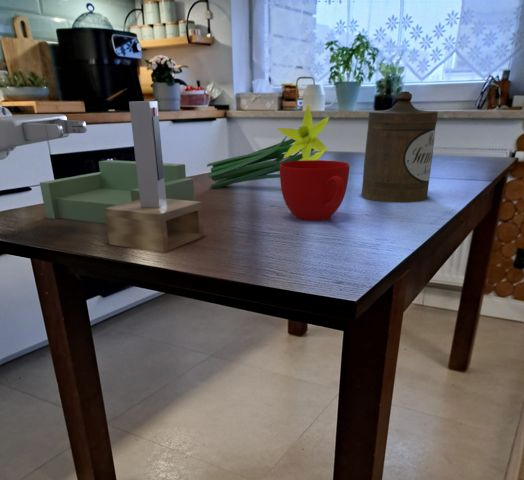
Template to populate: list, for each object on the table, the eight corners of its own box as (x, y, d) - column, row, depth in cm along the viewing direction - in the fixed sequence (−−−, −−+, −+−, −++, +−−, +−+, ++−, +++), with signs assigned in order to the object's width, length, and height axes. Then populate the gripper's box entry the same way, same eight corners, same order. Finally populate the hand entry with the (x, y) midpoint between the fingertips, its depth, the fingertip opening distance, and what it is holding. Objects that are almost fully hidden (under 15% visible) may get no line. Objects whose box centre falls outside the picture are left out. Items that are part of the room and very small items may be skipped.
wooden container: (422, 205, 111) (436, 90, 101) (354, 201, 116) (361, 91, 107) (431, 194, 123) (444, 91, 113) (369, 190, 128) (377, 92, 119)
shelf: (109, 246, 84) (103, 208, 81) (152, 231, 92) (148, 196, 90) (164, 253, 79) (160, 214, 76) (203, 237, 88) (201, 201, 85)
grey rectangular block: (140, 207, 81) (128, 101, 74) (148, 202, 85) (137, 101, 78) (161, 207, 81) (150, 101, 74) (168, 202, 85) (158, 101, 78)
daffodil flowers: (233, 184, 145) (353, 152, 129) (220, 221, 137) (346, 192, 121) (202, 133, 133) (330, 91, 117) (187, 171, 125) (321, 131, 109)
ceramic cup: (306, 233, 90) (307, 173, 85) (269, 214, 104) (269, 162, 99) (370, 226, 94) (375, 168, 89) (326, 209, 108) (328, 158, 104)
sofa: (46, 219, 103) (36, 168, 98) (106, 204, 116) (99, 159, 112) (145, 231, 92) (139, 175, 88) (198, 213, 106) (195, 164, 102)
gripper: (22, 145, 91) (99, 144, 90) (-47, 158, 73) (49, 157, 72) (14, 105, 88) (94, 104, 87) (-60, 109, 70) (39, 107, 69)
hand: (73, 128), depth 79 cm, fingers open, 8 cm apart
